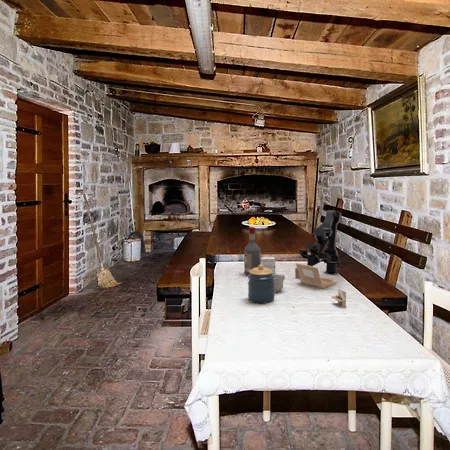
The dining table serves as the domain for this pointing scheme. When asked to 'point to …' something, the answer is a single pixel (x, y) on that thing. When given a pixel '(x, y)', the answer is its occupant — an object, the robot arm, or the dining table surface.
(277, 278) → the teacup
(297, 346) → the dining table surface
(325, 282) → the box
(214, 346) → the dining table surface
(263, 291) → the canister
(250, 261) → the liquor
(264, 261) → the ink box
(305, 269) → the mailer lid
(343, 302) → the architectural model
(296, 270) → the walnut block
